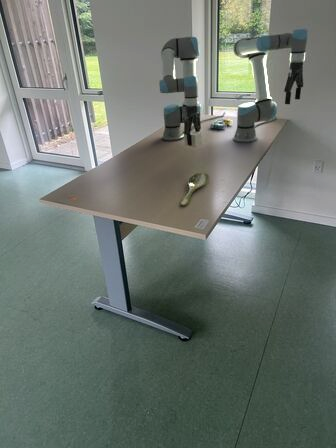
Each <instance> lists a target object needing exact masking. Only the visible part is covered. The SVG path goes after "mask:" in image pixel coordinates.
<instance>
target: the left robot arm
mask: <svg viewBox="0 0 336 448" xmlns="http://www.w3.org/2000/svg"><path fill="white" fill-rule="evenodd" d="M198 57H200V46H199V41H198V38H197V36H185V37H174V38H171V39H169V40H168V41H166V42H165V44H164V45H163V46H162V48H161V51H160V58H161V60H162V79H160V80H159V81H158V83H159V92H160V93H161V94H173V93H183V98H184V99H183V100H184V101H183V102H182V105H180V104H179V103H173V104H169V105H166V106H165V107H164V108H163V121H164V130H163V135H162V139H163V140H164V141H167V142H176V141H180V140H182V139H184V135H187V144H188V145H190V146H189V147H191V146H192V139H191V135H190V134H191V131H193V129H194V131H195V132H201V129H202V125H201V124H202V123H203V122H207V121H211V120H214V119H220V118H223V117H224V116H225V115H226V112H223V114H222V115H218V116H214V117H210V118H206V119H204V120H203V119H202V120H201V114H202V105H201V104H200V102H199V94H198V93H199V89H198V82H199V81H198V76H197V74H196V73H197V72H196V71H197V69H196V62H197V61H198ZM176 59H179V62H180V63H181V64H182V77H181V78H176V65H175V60H176ZM181 124H183V125H184V126H183V129H182V126H181Z"/></svg>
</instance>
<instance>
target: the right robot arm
mask: <svg viewBox="0 0 336 448" xmlns="http://www.w3.org/2000/svg"><path fill="white" fill-rule="evenodd" d="M307 41H308V29H307V28H297V29H293V30H292V32H291V33H290V32H285V33H280V34H279V33H278V34H271V35H270V34H269V35H262V36H261V35H260V36H255V37H254V36H253V37H244V38H240V39H238V40H237V41H235V43H234V45H233V54H234V55H235V56H236V57H237V58H239V59H248V62H249V63H250V64H251V70H252V76H253V83H254V92H255V99H256V100H255V101H254V102H245V103H242V104H239V105H238V107H237V112H236V115H237V117H236V119H237V120H236V123H237V124H236V130H235V134H234V136H233V140H234V141H236V142H240V143H250V142H254V141H256V140H257V137H258V135H257V133H256V129H255V128H256V127H258V126H260V125H263V124H266V123H270V122H273V121H275V120H276V119H277V112H278V105H277V102H275V101H273V98H272V97H271V96H270V88H269V83H268V82H269V81H268V74H267V67H266V59H267V58H268V54H269V52H270V51H271V52H272V51H278V50H287V49H289V50H290V55H289V61H290V62H289V66H288V70H289V71H290V72H288V73H287V79H286V82H285V86H284V88H283V92H284V93H285V97H284V99H285V100H284V105H290V104H291V98H292V89H293V86H294V84H296V87H295V93H294V100H300V99H301V94H302V93H301V92H302V88H304V75H303V72H304V70H303V69H304V65H305V59H306V50H307V49H306V48H307Z"/></svg>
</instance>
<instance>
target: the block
mask: <svg viewBox="0 0 336 448" xmlns="http://www.w3.org/2000/svg"><path fill="white" fill-rule="evenodd" d="M190 135H191V139H192V146H190V145H188V144H187V135H184V137H183V139H184V146H186V147H190V148H197V147H199V146H201V145H203V143H202V140H203V138H202V136H203V135H202V132H201V131H199V132H195V130H191V134H190Z"/></svg>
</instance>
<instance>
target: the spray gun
mask: <svg viewBox="0 0 336 448" xmlns="http://www.w3.org/2000/svg"><path fill="white" fill-rule="evenodd" d="M233 124H234V121H233V120H232V119H228V118H224V117H221V118H216V120H214V121H213V122H212V123H211V124H210V128H211V129H216V130H224V129H226V128H227V127H229V126H230V127H231V126H233Z"/></svg>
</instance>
